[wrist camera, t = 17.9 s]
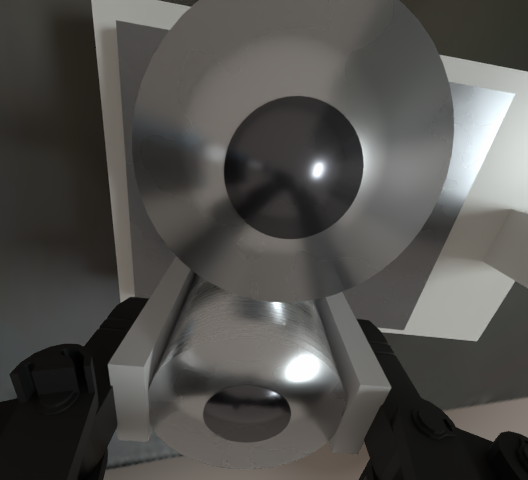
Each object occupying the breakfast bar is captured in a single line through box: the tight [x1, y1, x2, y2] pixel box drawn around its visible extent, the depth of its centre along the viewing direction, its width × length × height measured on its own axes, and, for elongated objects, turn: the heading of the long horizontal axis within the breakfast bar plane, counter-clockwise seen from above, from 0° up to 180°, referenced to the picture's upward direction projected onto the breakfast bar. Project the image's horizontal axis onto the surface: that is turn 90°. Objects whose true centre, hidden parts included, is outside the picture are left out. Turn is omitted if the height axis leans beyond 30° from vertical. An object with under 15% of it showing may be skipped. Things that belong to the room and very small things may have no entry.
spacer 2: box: [148, 274, 347, 469], centre depth 10 cm, size 5×5×7 cm
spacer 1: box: [132, 0, 454, 303], centre depth 7 cm, size 5×5×7 cm
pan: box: [116, 20, 515, 330], centre depth 12 cm, size 15×12×1 cm
